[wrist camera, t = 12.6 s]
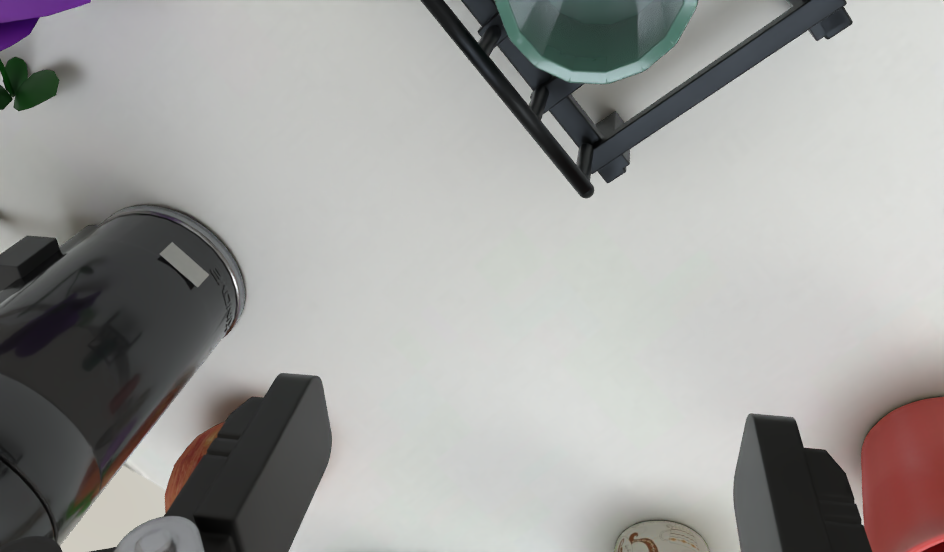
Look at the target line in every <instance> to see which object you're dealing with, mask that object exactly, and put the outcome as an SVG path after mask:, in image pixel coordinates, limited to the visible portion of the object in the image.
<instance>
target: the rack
mask: <svg viewBox="0 0 944 552" xmlns="http://www.w3.org/2000/svg"><path fill="white" fill-rule="evenodd" d="M461 1H462V2H463V3H464V5H465V6H466V7H467V8H468V10H469V11H470V12H471V13H472V15H473V16H474V17H475V18H476V20H477V21H478V22H479V23H480V25H481V27H480V29H479V30H478V33H479V35H480V36H481V39H480V40H479V41H478V42H477V41H476V40H475V39H474V37H473V36H472V35H471V34H470V32H469V31H468V30H467V29H466V28H465V26H464V25H463V24H462V23H461V21H460V20H459V19H458V18H457V16H456V15H455V14H454V13H453V11H452V10H451V9H450V8H449V6H448V5H447V4H446V3H445V1H444V0H421V2H422V3H423V4H424V5H425V6H426V8H427V9H428V10H429V11H430V13H431V14H432V15H433V16H434V17H435V19H436V20H437V21H438V22H439V24H440V25H441V26H442V27H443V28H444V30H445V31H446V32H447V33H448V35H449V36H450V37H451V38H452V39H453V41H454V42H455V43H456V44H457V46H458V47H459V48H460V49H461V50H462V52H463V53H464V54H465V55H466V57H467V58H468V59H469V60H470V62H471V63H472V64H473V65H474V66H475V68H476V69H477V70H478V71H479V73H480V74H481V75H482V76H483V77H484V79H485V80H486V81H487V82H488V84H489V85H490V86H491V87H492V88H493V90H494V91H495V92H496V93H497V95H498V96H499V97H500V98H501V99H502V101H503V102H504V103H505V104H506V106H507V107H508V108H509V109H510V110H511V112H512V113H513V114H514V115H515V117H516V118H517V119H518V120H519V121H520V123H521V124H522V125H523V126H524V128H525V129H526V130H527V131H528V132H529V134H530V135H531V136H532V137H533V139H534V140H535V141H536V142H537V143H538V145H539V146H540V147H541V148H542V150H543V151H544V152H545V153H546V154H547V156H548V157H549V158H550V159H551V161H552V162H553V163H554V164H555V165H556V167H557V168H558V169H559V170H560V172H561V173H562V174H563V175H564V176H565V178H566V179H567V180H568V181H569V183H570V184H571V185H572V186H573V188H574V189H575V190H576V191H577V192H578V194H579V195H580V196H581V197H583V198H589V197H591V196H592V195H593V193H594V187H593V185H592V184H591V183H590V176H591V174H593V173H595V172H596V171H598V173H599V174H600V175H601V176H602V178H603V179H604V180H605V181H606V182H607V183H610V182H611V181H613V180H614V179H616V178H617V177H619V176H620V175H622V174H623V173H625V172H626V166H628V165H629V164H630V149H631V148H632V147H634V146H635V145H637V144H638V143H640V142H641V141H643V140H644V139H646V138H647V137H649V136H650V135H652V134H653V133H655V132H656V131H658V130H659V129H661V128H662V127H664V126H665V125H667V124H668V123H670V122H671V121H673V120H674V119H676V118H677V117H679V116H680V115H682V114H683V113H685V112H686V111H688V110H689V109H691V108H692V107H694V106H695V105H697V104H698V103H700V102H701V101H703V100H704V99H706V98H707V97H709V96H710V95H712V94H713V93H715V92H716V91H718V90H719V89H721V88H722V87H724V86H725V85H727V84H728V83H730V82H731V81H732V80H734V79H735V78H737V77H738V76H740V75H741V74H743V73H744V72H746V71H747V70H749V69H750V68H752V67H753V66H755V65H756V64H758V63H759V62H761V61H762V60H764V59H765V58H767V57H768V56H770V55H771V54H773V53H774V52H776V51H777V50H779V49H780V48H782V47H783V46H785V45H786V44H788V43H789V42H791V41H792V40H794V39H795V38H797V37H798V36H800V35H801V34H803V33H804V32H806V31H807V30H808V31H809V32H810V33H811V35H812V36H813V37H814V39H815V40H816V41H818V40H820V39H821V38H823V37H825V38H826V39H830V38H832V37H833V36H835V35H836V34H838V33H839V32H841V31H842V30H844V29H845V28H847V27H848V26H850V25H851V24H852V23H853V22H852V20H851V18H850V16H849V15H848V13H847V12H846V10H845V8H844V7H843V6H845V5H846V4H847V3H846V1H845V0H787V1H788V3H789V4H790V6H791V7H792V8H791V9H789V10H788V11H786V12H785V13H783V14H782V15H780V16H779V17H777V18H776V19H775V20H773V21H772V22H770V23H769V24H767V25H766V26H764V27H763V28H762V29H760V30H759V31H757V32H756V33H754V34H753V35H751V36H750V37H749V38H747V39H746V40H744V41H743V42H741V43H740V44H738V45H737V46H735V47H734V48H733V49H731V50H730V51H728V52H727V53H725V54H724V55H722V56H721V57H720V58H718V59H717V60H715V61H714V62H712V63H711V64H709V65H708V66H707V67H705V68H704V69H702V70H701V71H699V72H698V73H696V74H695V75H693V76H692V77H691V78H689V79H688V80H686V81H685V82H683V83H682V84H680V85H679V86H678V87H676V88H675V89H673V90H672V91H670V92H669V93H667V94H666V95H665V96H663V97H662V98H660V99H659V100H657V101H656V102H654V103H653V104H651V105H650V106H649V107H647V108H646V109H644V110H643V111H641V112H640V113H638V114H637V115H636V116H634V117H633V118H631V119H630V120H628V121H627V122H625V123H624V121H623V120H622V119H621V117H620V116H619V115H618V113H617V112H616V111H615V112H613V113H612V114H611V115H609V116H608V117H606V118H605V119H603V120H602V121H601V122H599V123H598V124H596V125H595V124H594V123H593V122H592V120H591V119H590V118H589V117H588V115H587V114H586V113H585V112H584V110H583V109H582V108H581V106H580V105H579V104H578V103H577V101H576V100H575V99H574V97H573V96H572V95H571V93H573V92H574V91H575V90H577V89H578V88H579V87H581V86H582V85H583V84H585V83H570V82H566V81H564V80H562V79H560V78H558V77H556V76H553V75H551V74H549V73H547V72H545V71H543V70H540V69H538V68H536V66H534V65H533V64H532V63H531V62H530V61H529V60H528V59H527V58H526V57H525V56H524V55H523V54H522V53H521V51H520V50H519V49H518V48H517V47H516V46H515V45H514V44H513V43H512V42H511V41H510V38H508V35H507V33H506V30H505V27H504V25H503V22H502V20H501V17H500V14H499V12H498V9H497V7H496V4H495V2H496V1H495V0H461ZM496 46H498V47H499V48H500V50H501V51H502V52H503V53H504V55H505V56H506V57H507V58H508V60H509V61H510V62H511V63H512V65H513V66H514V67H515V68H516V70H517V71H518V72H519V73H520V75H521V76H522V77H523V79H524V80H525V81H526V82H527V84H528V85H529V86H530V87H531V89H532V90H533V92H532V94H531V96H530V98H531V101H530V104H529V106H528V104H527V103H526V102H525V101H524V99H523V98H522V97H521V96H520V94H519V93H518V92H517V91H516V90H515V88H514V87H513V86H512V85H511V83H510V82H509V81H508V80H507V78H506V77H505V76H504V75H503V73H502V72H501V71H500V70H499V68H498V67H497V66H496V65H495V63H494V62H493V61H492V60H491V59H490V57H489V55H490V54H491V52H492V50H493V49H494V48H495V47H496ZM548 110H549V111H550V112H551V114H552V115H553V116H554V117H555V119H556V120H557V121H558V122H559V124H560V125H561V126H562V127H563V129H564V130H565V131H566V132H567V134H568V135H569V136H570V137H571V139H572V140H573V141H574V142H575V144H576V145H577V146H578V147H579V152H578V158H577V164H575V163H574V161H573V160H572V159H571V158H570V157H569V155H568V154H567V153H566V152H565V150H564V149H563V148H562V147H561V145H560V144H559V143H558V142H557V140H556V139H555V138H554V137H553V135H552V134H551V133H550V132H549V130H548V129H547V128H546V127H545V126H544V124H543V123H542V122H541V119H542V115H543V114H544V113H546V112H547V111H548Z"/></svg>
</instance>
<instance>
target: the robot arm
mask: <svg viewBox="0 0 944 552" xmlns="http://www.w3.org/2000/svg"><path fill="white" fill-rule="evenodd" d="M244 304H245V288H244V282H243V279H242V275H241V273H240V270H239V268H238V266H237V264H236V262H235V260H234V258H233V257H232V255H231V254H230V252H229V251H228V249H227V248H226V247H225V246H224V245H223V243H222V242H221V241H220V240H219V239H218V238H217V237H216V236H215V235H214V234H213V233H212V232H210V231H209V230H208V229H207V228H205V227H204V226H203V225H201V224H200V223H198V222H197V221H195V220H193V219H192V218H190V217H188V216H186V215H184V214H182V213H179V212H176V211H174V210H171V209H167V208H163V207H158V206H150V205H141V206H133V207H128V208H125V209H122V210H120V211H118V212H116V213H114V214H113V215H111V216H110V217H109V218H108V219H106V220H105V221H104V222H103V223H101V224H100V225H98V226H97V225H88V226H87V227H85V228H84V229H83V230H81V231H80V232H79V233H77V234H76V235H75V236H73V237H72V238H71V239H69V240H68V241H67V242H66V243H64V244H63V245H62V246H60V247H59V245H58V243H57V240H56V238H49V237H37V236H26V237H25V238H23V239H22V240H20V241H19V242H17V243H16V244H15V245H13V246H12V247H10V248H9V249H7V250H6V251H5V252H3V253H2V254H0V552H62V550H61V548H60V545H61V544H62V543H63V541H64V540H65V539H66V537H67V536H68V535H69V534H70V532H71V531H72V530H73V529H74V527H75V526H76V525H77V524H78V522H79V521H80V520H81V518H82V517H83V516H84V515H85V513H86V512H87V511H88V509H89V508H90V507H91V506H92V504H93V503H94V501H95V500H96V499H97V497H98V496H99V495H100V494H101V493H102V491H103V490H104V489H105V487H106V486H107V484H109V482H110V481H111V480H112V478H113V477H114V476H115V475H116V473H117V472H118V471H119V469H120V468H121V467H122V466H123V464H124V463H125V462H126V461H127V459H128V458H129V457H130V455H131V454H132V453H133V452H134V450H135V449H136V448H137V447H138V445H139V444H140V443H141V441H142V440H143V439H144V438H145V436H146V435H147V434H148V432H149V431H150V430H151V429H152V427H153V426H154V425H155V424H156V422H157V421H158V420H159V418H160V417H161V416H162V415H163V413H164V412H165V411H166V409H167V408H168V407H169V406H170V404H171V403H172V402H173V401H174V399H175V398H176V397H177V395H178V394H179V393H180V392H181V390H182V389H183V388H184V386H185V385H186V384H187V383H188V381H189V380H190V379H191V378H192V376H193V375H194V374H195V372H196V371H197V370H198V369H199V367H200V366H201V365H202V364H203V362H204V361H205V360H206V358H207V357H208V356H209V355H210V353H211V352H212V351H213V350H214V348H215V347H216V346H217V344H218V343H219V342H220V341H221V339H222V338H224V337H225V336H226V335H227V334H228V333H229V332H230V331H231V329H232V328H233V327H234V326H235V324H236V323H237V322H238V320H239V318H240V316H241V314H242V312H243V309H244ZM331 445H332V435H331V428H330V423H329V417H328V412H327V406H326V401H325V395H324V390H323V384H322V381H321V379H320V377H318V376H312V375H300V374H288V373H281V374H279V375H278V376H277V377H276V379H275V380H274V382H273V384H272V385H271V387H270V388H269V390H268V392H267V393H266V395H265V397H264V398H260V397H251V398H250V399H248V400H247V401H246V402H245V403H243V404H242V405H241V406H240V407H238V408H237V409H236V410H235V411H233V412H232V413H231V414H230V415H229V417H228V418H227V420H226V421H225V423H224V424H223V426H222V428H221V429H220V431H219V432H218V434H217V438H214V440H213V441H212V443H211V444H210V446H209V448H208V449H207V453H206V455H203V457H202V458H201V460H200V461H199V463H198V465H197V466H196V468H195V469H194V471H193V472H192V474H191V475H190V477H189V478H188V480H187V481H186V483H185V485H184V486H183V488H182V489H181V491H180V492H179V494H178V495H177V497H176V498H175V500H174V502H173V503H172V505H171V506H170V508H169V509H168V511H167V512H166V514H165V515H164V517H159V518H156V519H152V520H150V521H147V522H145V523H143V524H141V525H139V526H138V527H136V528H135V529H133V530H132V531H130V532H129V533H128V534H127V535H126V536H125V537H124V538H123V539H122V540H121V542H120V543H119V544H118V546H117V547H113V548H109V549H103V550H97V551H91V552H288V551H289V549H290V547H291V545H292V542H293V540H294V538H295V536H296V534H297V531H298V529H299V527H300V525H301V522H302V520H303V518H304V516H305V513H306V511H307V509H308V507H309V505H310V502H311V500H312V498H313V496H314V493H315V491H316V489H317V487H318V485H319V482H320V480H321V478H322V476H323V473H324V471H325V469H326V467H327V464H328V461H329V458H330V453H331ZM733 497H734V510H735V516H736V523H737V529H738V535H739V541H740V547H741V552H872V549H871V546H870V544H869V541H868V538H867V535H866V532H865V529H864V526H863V525H861V517H860V514H859V511H858V508H857V505H856V504H854V496H853V493H852V490H851V487H850V485H849V482H848V479H847V476H846V473H845V472H844V471H843V470H842V468H841V467H840V466H839V465H838V464H837V463H836V462H835V460H834V459H833V458H832V457H831V456H830V455H829V453H828V452H827V451H826V450H822V449H811V448H804V447H803V444H802V440H801V437H800V433H799V430H798V426H797V423H796V421H795V419H794V418H793V417H784V416H772V415H761V414H749V415H748V417H747V419H746V423H745V428H744V432H743V437H742V442H741V447H740V452H739V456H738V461H737V466H736V471H735V476H734V489H733Z"/></svg>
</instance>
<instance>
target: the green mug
mask: <svg viewBox="0 0 944 552" xmlns="http://www.w3.org/2000/svg"><path fill="white" fill-rule="evenodd" d="M495 1H496V2H495V4H496V7H497V9H498V12H499V14H500V17H501V20H502V22H503V25H504V27H505V30H506V33H507V35H508V38H510V41H511V42H512V43H513V44H514V45H515V46H516V47H517V48H518V49H519V50H520V51H521V53H522V54H523V55H524V56H525V57H526V58H527V59H528V60H529V61H530V62H531V63H532V64H533V65H534V66H536V68H538V69H540V70H543V71H545V72H547V73H549V74H551V75H553V76H556V77H558V78H560V79H562V80H564V81H566V82H570V83H586V84H610V83H613V82H615V81H618V80H621V79H624V78H627V77H630V76H633V75H636V74H638V73H641V72H643V71H645V70H647V69H648V68H649V67H650V66H651V65H653V64H654V63H655V62H656V61H657V60H659V59H660V58H661V57H662V56H663V55H665V54H666V53H667V52H668V51H669V50H670V49H672V48H673V47H674V46H675V44H677V42H678V40H679V39H680V37H681V35H682V33H683V31H684V30H685V28H686V26H687V24H688V22H689V21H690V19H691V17H692V15H693V13H694V12H695V10H696V7H697V4H698V0H495Z"/></svg>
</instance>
